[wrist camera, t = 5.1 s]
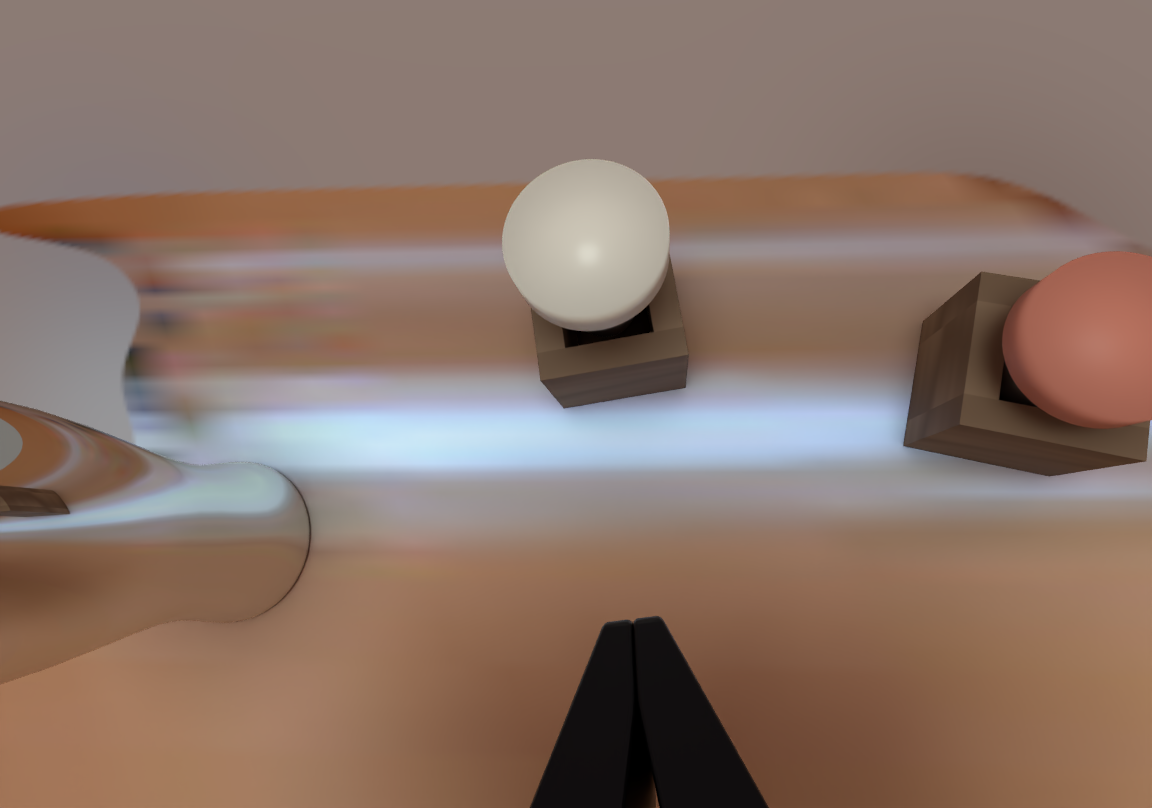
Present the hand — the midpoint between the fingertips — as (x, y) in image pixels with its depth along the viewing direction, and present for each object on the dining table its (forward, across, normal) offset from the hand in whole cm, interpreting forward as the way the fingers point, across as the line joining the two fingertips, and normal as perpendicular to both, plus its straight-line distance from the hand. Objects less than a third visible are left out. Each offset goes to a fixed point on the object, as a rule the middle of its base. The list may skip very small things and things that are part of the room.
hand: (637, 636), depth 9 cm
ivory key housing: (+16, 0, +3) cm, 16 cm away
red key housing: (+13, -12, +6) cm, 19 cm away
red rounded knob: (+12, -12, +5) cm, 17 cm away
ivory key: (+13, 0, +1) cm, 13 cm away
